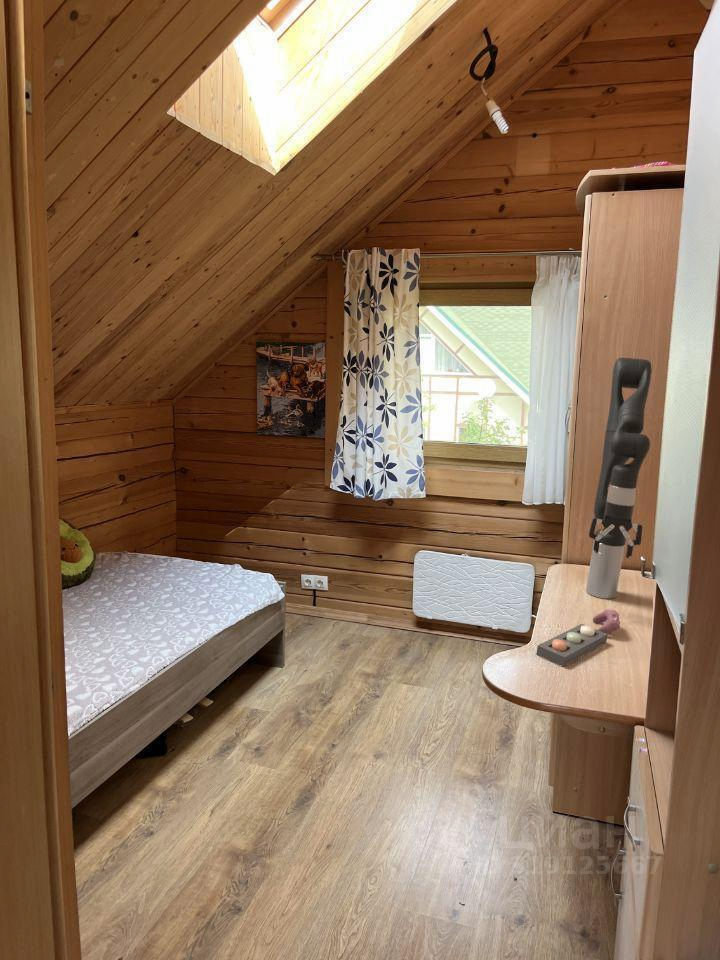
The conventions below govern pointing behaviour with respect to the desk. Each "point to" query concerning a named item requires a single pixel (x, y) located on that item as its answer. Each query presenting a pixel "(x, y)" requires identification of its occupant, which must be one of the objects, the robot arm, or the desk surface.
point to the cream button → (587, 631)
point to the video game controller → (608, 621)
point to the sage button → (573, 638)
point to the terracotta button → (559, 645)
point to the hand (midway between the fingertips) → (611, 554)
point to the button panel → (571, 646)
